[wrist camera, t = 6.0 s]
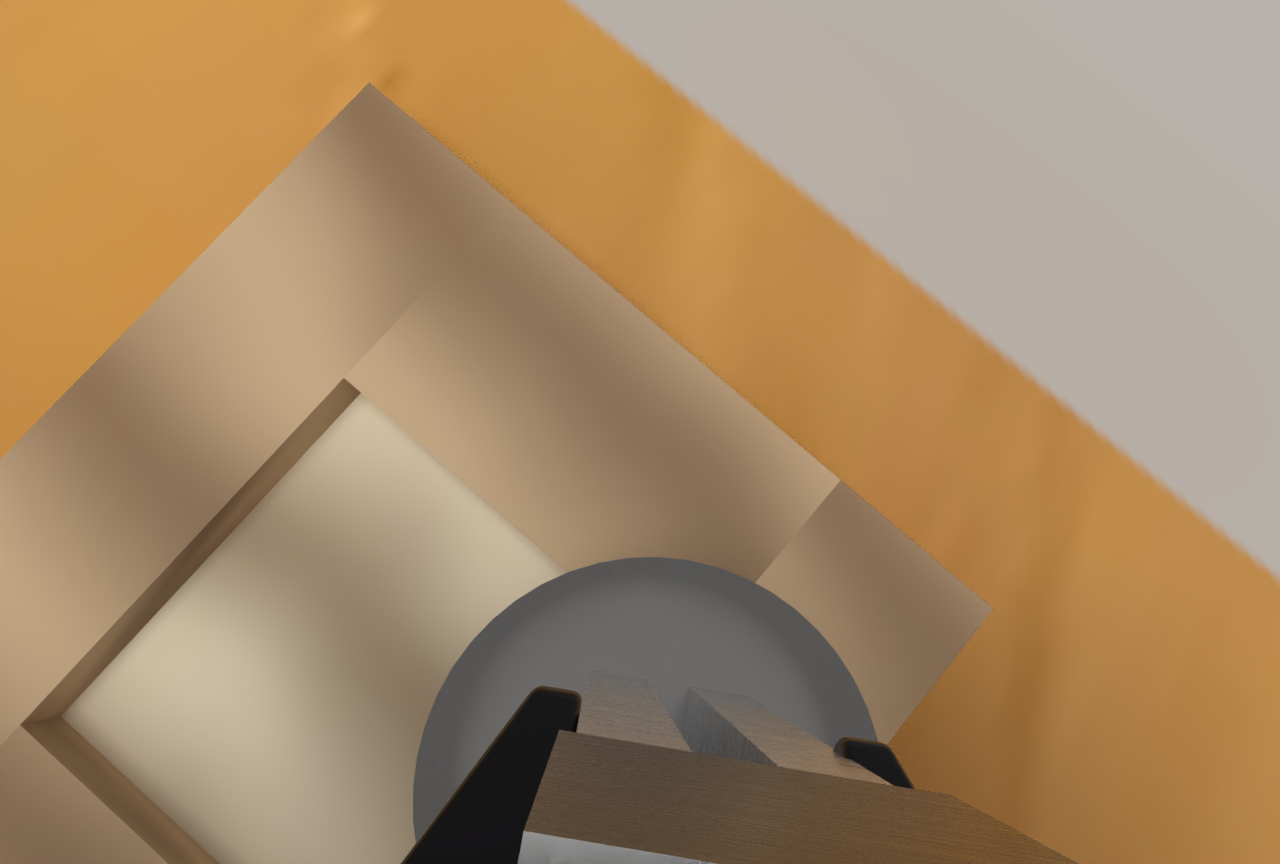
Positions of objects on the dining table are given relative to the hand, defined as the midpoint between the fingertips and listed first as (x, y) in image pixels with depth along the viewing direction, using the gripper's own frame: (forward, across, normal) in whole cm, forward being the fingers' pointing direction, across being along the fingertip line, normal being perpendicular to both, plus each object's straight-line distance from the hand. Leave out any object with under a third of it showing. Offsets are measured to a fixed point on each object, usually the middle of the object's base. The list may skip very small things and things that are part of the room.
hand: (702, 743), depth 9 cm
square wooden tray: (+9, +5, +10) cm, 15 cm away
